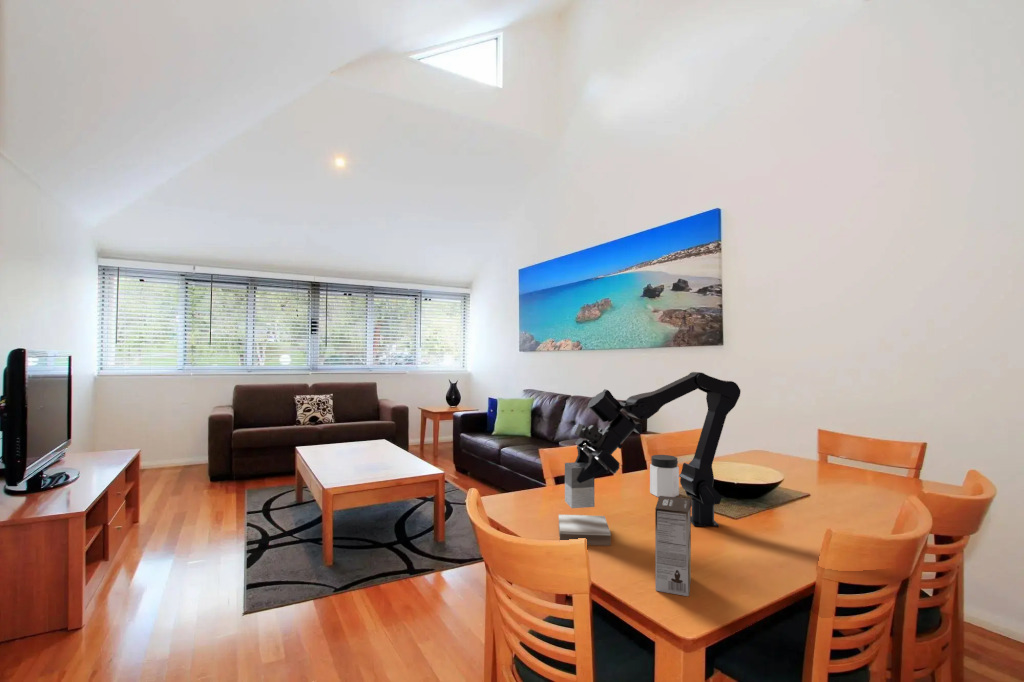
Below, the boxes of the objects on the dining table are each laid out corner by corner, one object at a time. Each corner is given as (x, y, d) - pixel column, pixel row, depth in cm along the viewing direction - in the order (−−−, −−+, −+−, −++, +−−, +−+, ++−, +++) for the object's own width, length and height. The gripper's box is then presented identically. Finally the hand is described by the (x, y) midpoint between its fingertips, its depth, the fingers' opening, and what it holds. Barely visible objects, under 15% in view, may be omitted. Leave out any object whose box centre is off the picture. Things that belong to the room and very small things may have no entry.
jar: (669, 500, 151) (669, 461, 151) (645, 494, 157) (646, 457, 157) (682, 494, 157) (682, 457, 158) (660, 489, 163) (660, 453, 163)
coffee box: (658, 571, 102) (658, 494, 102) (691, 576, 99) (691, 498, 100) (654, 591, 93) (654, 507, 94) (690, 597, 91) (690, 511, 91)
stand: (610, 545, 115) (610, 532, 115) (559, 543, 116) (560, 531, 116) (604, 527, 127) (604, 515, 127) (558, 525, 128) (558, 514, 128)
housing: (586, 499, 128) (586, 461, 129) (594, 506, 122) (594, 467, 123) (564, 501, 127) (564, 462, 128) (571, 508, 121) (571, 468, 122)
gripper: (582, 408, 135) (543, 449, 133) (607, 417, 117) (563, 465, 115) (609, 436, 137) (571, 477, 134) (637, 449, 118) (594, 497, 116)
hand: (574, 478), depth 125 cm, fingers closed on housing, 6 cm apart
